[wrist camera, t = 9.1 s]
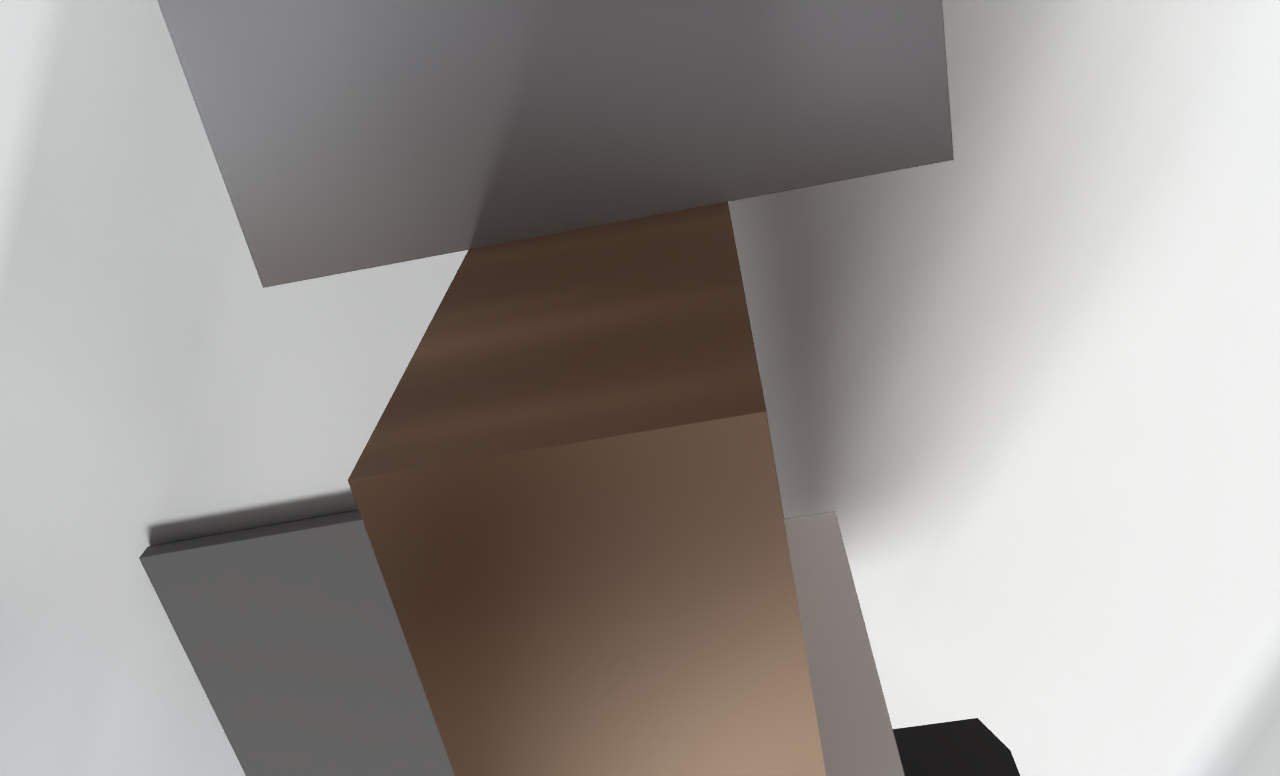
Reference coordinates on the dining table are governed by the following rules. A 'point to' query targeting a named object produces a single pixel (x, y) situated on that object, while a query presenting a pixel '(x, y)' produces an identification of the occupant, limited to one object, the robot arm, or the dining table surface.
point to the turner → (570, 333)
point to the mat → (300, 649)
